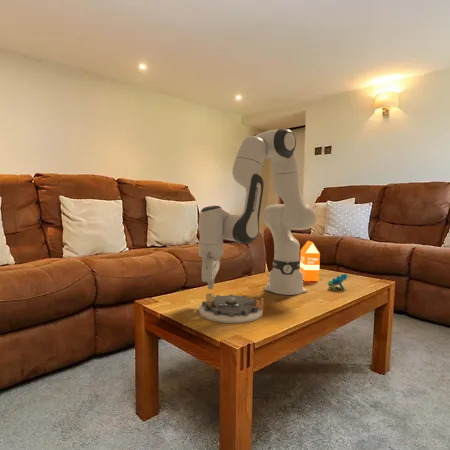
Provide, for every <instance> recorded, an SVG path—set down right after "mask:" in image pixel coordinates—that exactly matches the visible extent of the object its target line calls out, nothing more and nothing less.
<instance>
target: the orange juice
mask: <svg viewBox="0 0 450 450" xmlns="http://www.w3.org/2000/svg"><path fill="white" fill-rule="evenodd" d="M320 256H321V253H320V251H319V250H318V248H317V247H316V245H315V244H314V242H313V241H310V240H307V241H306V242H305V244H304V245H303V246H302V247H301V248H300V253H299V260H300V271H301V272H302V273H303V280H304V281H320V265H321V263H320V261H321V260H320V259H321V257H320ZM304 281H303V282H304Z"/></svg>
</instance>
